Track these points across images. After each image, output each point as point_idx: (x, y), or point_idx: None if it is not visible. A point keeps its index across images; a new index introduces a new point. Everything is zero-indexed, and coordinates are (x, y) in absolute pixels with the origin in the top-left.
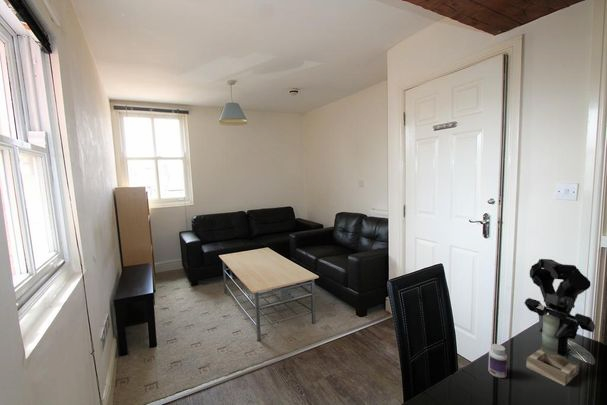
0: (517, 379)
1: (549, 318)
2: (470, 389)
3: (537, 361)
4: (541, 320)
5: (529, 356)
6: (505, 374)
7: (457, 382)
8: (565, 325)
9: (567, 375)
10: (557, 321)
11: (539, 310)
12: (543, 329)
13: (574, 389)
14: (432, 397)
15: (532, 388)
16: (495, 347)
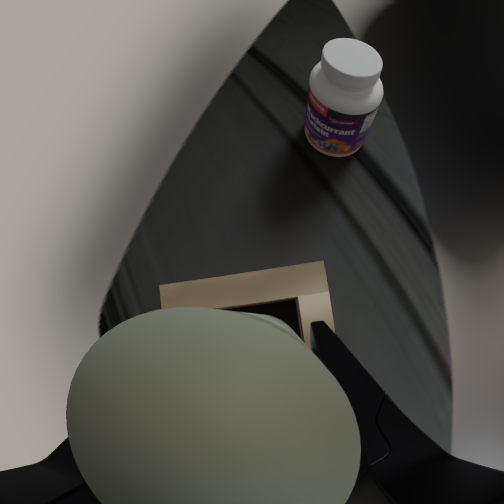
0: (279, 162)
1: (184, 385)
2: (301, 31)
3: (282, 283)
4: (365, 410)
5: (327, 289)
6: (305, 127)
7: (334, 28)
8: (66, 451)
9: (163, 308)
10: (75, 402)
11: (481, 492)
12: (282, 324)
13: (151, 300)
14: None
15: (224, 165)
16: (353, 45)
